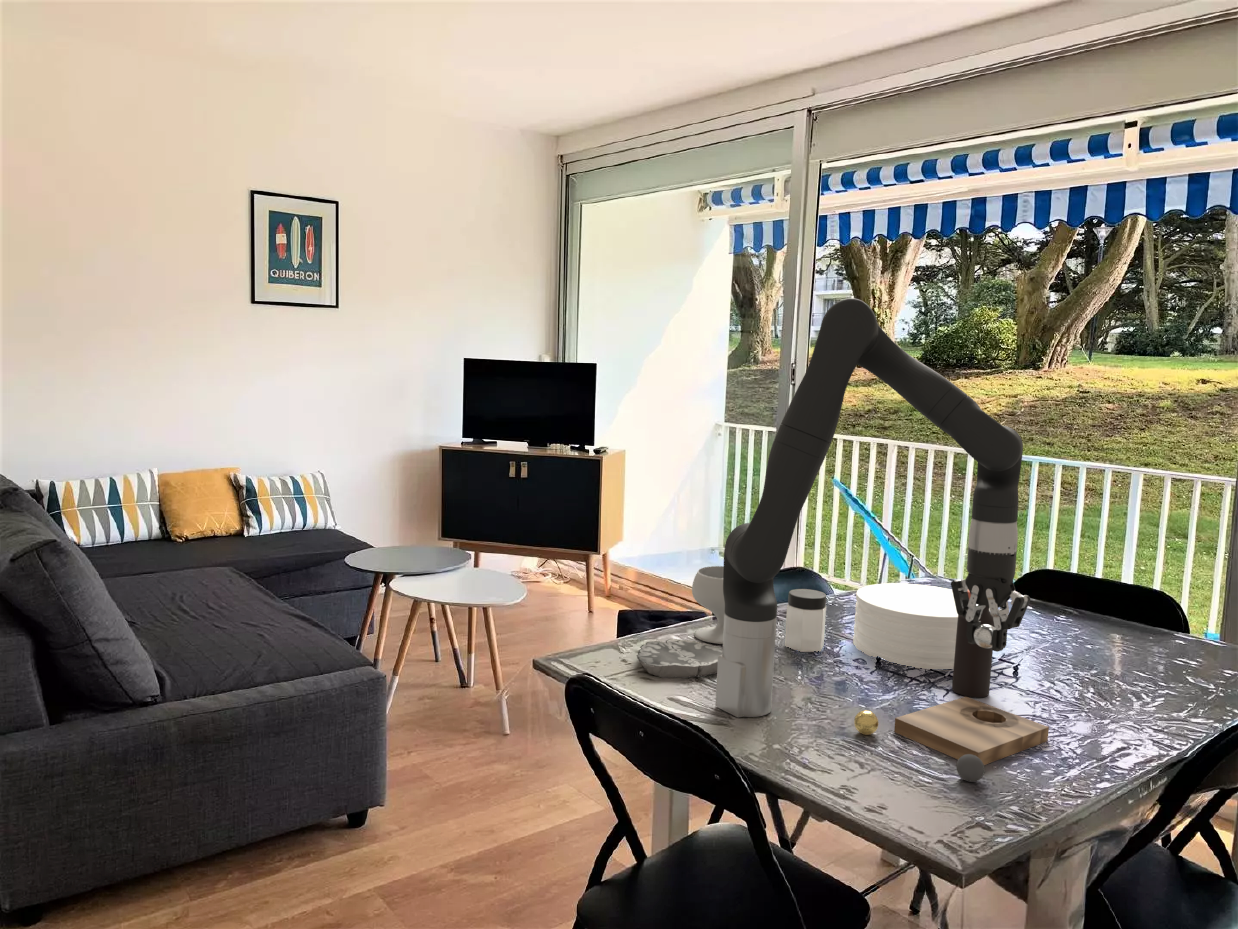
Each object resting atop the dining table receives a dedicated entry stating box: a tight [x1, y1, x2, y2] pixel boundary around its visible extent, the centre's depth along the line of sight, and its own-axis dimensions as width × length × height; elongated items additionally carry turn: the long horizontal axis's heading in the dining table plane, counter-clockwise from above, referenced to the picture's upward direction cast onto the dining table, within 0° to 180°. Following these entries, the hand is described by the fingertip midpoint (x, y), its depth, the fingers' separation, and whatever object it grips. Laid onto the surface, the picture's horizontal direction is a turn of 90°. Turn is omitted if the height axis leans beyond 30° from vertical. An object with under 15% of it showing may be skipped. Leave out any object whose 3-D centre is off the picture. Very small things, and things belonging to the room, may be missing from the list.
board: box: [893, 696, 1050, 766], centre depth 157 cm, size 20×16×2 cm
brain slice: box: [636, 638, 723, 679], centre depth 188 cm, size 20×17×3 cm
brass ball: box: [853, 709, 879, 736], centre depth 157 cm, size 4×4×4 cm
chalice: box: [691, 565, 725, 645], centre depth 207 cm, size 14×14×15 cm
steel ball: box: [973, 624, 995, 648], centre depth 155 cm, size 4×4×4 cm
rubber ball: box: [956, 754, 985, 783], centre depth 140 cm, size 4×4×4 cm
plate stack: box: [852, 582, 990, 670], centre depth 204 cm, size 28×28×12 cm
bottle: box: [951, 589, 995, 699], centre depth 178 cm, size 7×7×20 cm
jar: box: [784, 588, 827, 653], centre depth 203 cm, size 9×8×12 cm
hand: (985, 646), depth 155 cm, fingers closed on steel ball, 4 cm apart
